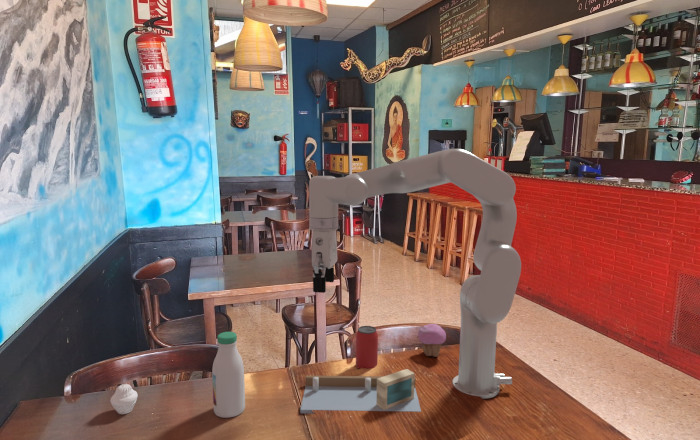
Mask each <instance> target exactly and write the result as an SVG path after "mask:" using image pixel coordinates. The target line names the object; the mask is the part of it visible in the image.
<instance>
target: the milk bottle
mask: <svg viewBox="0 0 700 440" xmlns="http://www.w3.org/2000/svg"><path fill="white" fill-rule="evenodd" d="M237 335H238V334H237V333H236V332H234V331H224V332H220V333H219V334H218V335H217V339H216V340H217V346H218V349H217V352H216V356H214V360H213V364H212V372H211V374H212V375H211V377H212V379H211V380H212V402H213V403H212V404H213V407H212V408H213V413H214V414H215V416H217V417H218V418H224V419H225V418H226V419H228V418H229V419H231V418H234V417H238V416H240V415H241V414H242V413H243V412H244V410H245V409H246V392H245V391H246V390H245V389H246V386H245V367H244V362H243V358H242V356H241V354H240V352H239V350H238V347H237V343H238V341H237V340H238V339H237Z"/></svg>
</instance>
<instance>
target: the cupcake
mask: <svg viewBox="0 0 700 440" xmlns="http://www.w3.org/2000/svg"><path fill="white" fill-rule="evenodd" d="M417 338H418V340H419V342H420V343H421V344H422V351H423V354H424V355H425V356H426V357H434V358H436V357H439V355H440V351H441V347H442V345H443V343H445V342H446V340H447V334H446V330H444V329H443V328H442V327H441V326H440V325H438V324H436V323H428V324H425V325H422V327H421V328H419V329H418V332H417Z"/></svg>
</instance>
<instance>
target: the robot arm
mask: <svg viewBox="0 0 700 440" xmlns="http://www.w3.org/2000/svg"><path fill="white" fill-rule="evenodd" d="M308 183H309V184H308V187H309V188H308V192H309V193H308V196H309V197H308V202H309V203H308V204H309V205H308V207H309V210H308V211H309V219H308V220H309V222H308V223H309V224H308V225H309V226H308V228H309V230H310V231H312V233H311V234H312V235H311V237H312V238H311V266H312V268H313V270H312V291H313V293H322V294H323V293H326V291H327V290H326V289H327V288H326V287H327V286H326V285H327V283H334V282H335V268H334V267H335V264H336V263H337V262H338V239H337V237H338V236H337V230H338V229H339V205H347V206H359V205H361V204H362V203H364V202H365V201H366V199H369V198H373V197H377V196H381V195H386V194H387V195H388V194H407V193H408V194H409V193H412V192H413V193H414V192H417V191H422V190H424V189H430V188H433V187H437V186H441V185H445V184H449V183H452V184H453V185H455V186H457V187H459V188H460V189H462V190H464V191H465V192H467V193H469V194H470V195H472V196H473V197H474V198H475V199H477V200H478V202H479V203H480V205H481V208H482V219H481V225H480V229H479V233H478V236H477V240H476V243H475V248H474V251H473V257H472V258H473V263H474V265H475V267H476V268H477V269H478V270H479V271H480V274H477V275H471V276H469V277H467V278H466V279H465V280H464V281H463V283H462V285H461V287H460V290H459V291H460V292H459V307H460V335H459V351H458V352H459V355H458V356H459V357H458V375H456V376H455V377H453V379H452V385H453V387H454V388H455V389H456V390H458V391H459V392H461V393H463V394H465V395H466V394H467V395H468V396H474V397H479V398H480V399H483V400H485V399H486V400H487V399H491V398H494V397H496V396H497V395H499V393H500V386H501V385H513V378H512V377H511V376H506V375H505V374H504V373H496V372H495V368H496V367H495V365H496V353H497V351H496V348H497V335H498V334H497V333H498V323H500V322H502V321H503V320H504V319H505V318H506V317H507V316H508V314H509V312H510V311H511V307H512V305H513V301H514V298H515V295H516V291H517V287H518V283H519V282H520V277H521V274H522V273H521V272H522V261H521V256H520V255H519V253H518V251H517V250H516V249H515V248H514V247H513V246H512V243H513V238H514V234H515V229H516V224H517V219H518V218H517V217H518V215H517V214H518V213H517V206H516V203H515V200H514V196H516V195H515V194H516V191H517V186H516V183H515V181H514V179H513V177H512V176H511V175H510V174H508V173H507V172H506V171H504V170H502V169H500V168H498V167H496V166H494V165H493V164H491V163H489V162H488V161H486V160H485V159H484V160H483V159H481V158H480V157H478V156H477V155H475V154H473V153H471V152H470V151H467V150H465V149H462V148H448V149H447V148H446V149H443V150H439V151H435V152H432V153H426V154H424V155H420V156H415V157H411V158H408V159H402V160H399V161H395V162H392V163H390V164H389V163H388V164H387V165H386V164H385V165H383V166H379V167H375V168H371V169H367V170H362V171H359V172H354V173H351V174H348V175H345V176H344V177H335V176H333V175H315V176H312V177H311V178H310V179H309V182H308Z"/></svg>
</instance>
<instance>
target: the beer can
mask: <svg viewBox="0 0 700 440" xmlns="http://www.w3.org/2000/svg"><path fill="white" fill-rule="evenodd" d="M378 335H379V334H378V332H377V328H376V327H374V326H371V325H361V326H359V327H358V328H357V332H356V335H355V366H356V368H357V369H359V370H361V369H364V370H365V369H367V370H368V369H374V368H376V367H377V366H378V362H379V361H378V354H379V353H378V351H379V336H378Z"/></svg>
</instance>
